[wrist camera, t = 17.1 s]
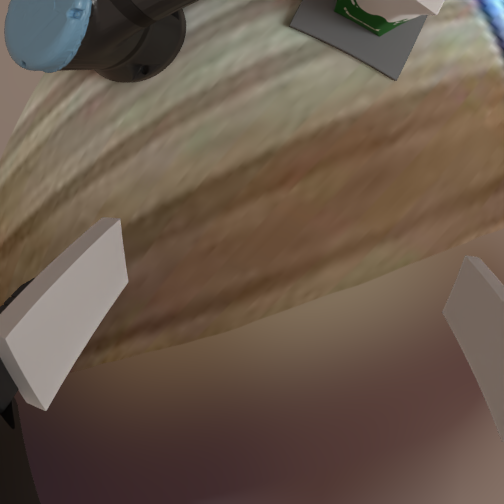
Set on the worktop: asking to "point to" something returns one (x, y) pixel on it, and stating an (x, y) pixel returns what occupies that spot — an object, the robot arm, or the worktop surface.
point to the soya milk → (385, 12)
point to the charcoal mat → (358, 36)
